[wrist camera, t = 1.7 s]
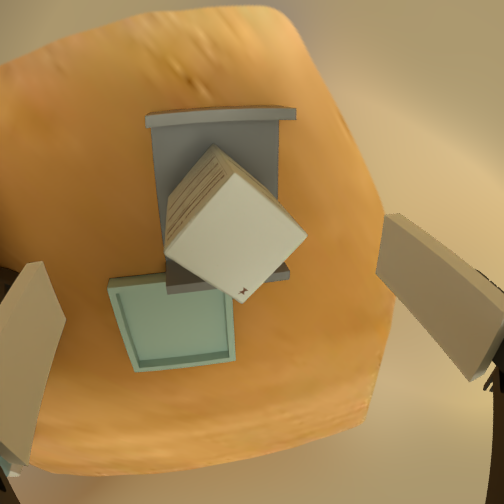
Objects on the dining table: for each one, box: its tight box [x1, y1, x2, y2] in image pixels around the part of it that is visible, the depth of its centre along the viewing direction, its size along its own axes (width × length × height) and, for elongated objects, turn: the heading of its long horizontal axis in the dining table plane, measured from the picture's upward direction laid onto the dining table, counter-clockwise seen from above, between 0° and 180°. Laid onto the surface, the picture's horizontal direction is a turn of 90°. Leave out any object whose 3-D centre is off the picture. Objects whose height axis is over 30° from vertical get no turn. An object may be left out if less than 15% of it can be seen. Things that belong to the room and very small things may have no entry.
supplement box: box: [164, 143, 307, 304], centre depth 27 cm, size 7×7×13 cm
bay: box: [145, 106, 296, 295], centre depth 30 cm, size 12×17×5 cm
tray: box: [107, 272, 236, 372], centre depth 38 cm, size 14×14×2 cm
